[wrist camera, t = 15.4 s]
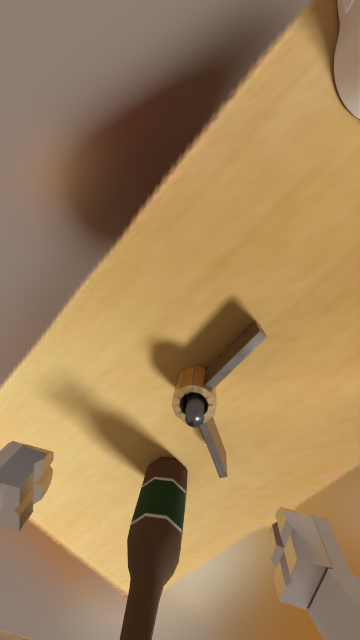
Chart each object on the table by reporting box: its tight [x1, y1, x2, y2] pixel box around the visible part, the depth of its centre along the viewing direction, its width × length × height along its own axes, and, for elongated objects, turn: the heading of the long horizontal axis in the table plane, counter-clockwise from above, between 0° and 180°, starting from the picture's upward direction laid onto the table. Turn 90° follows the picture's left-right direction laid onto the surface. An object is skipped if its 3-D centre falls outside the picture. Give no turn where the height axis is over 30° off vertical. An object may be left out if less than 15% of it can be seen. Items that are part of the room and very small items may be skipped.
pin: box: [185, 392, 204, 427], centre depth 38 cm, size 2×2×9 cm
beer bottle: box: [120, 457, 187, 640], centre depth 36 cm, size 8×8×24 cm
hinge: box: [172, 321, 267, 478], centre depth 39 cm, size 21×15×6 cm
